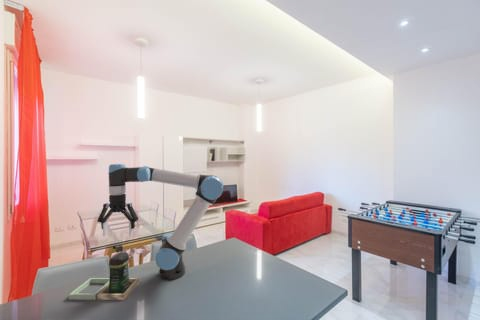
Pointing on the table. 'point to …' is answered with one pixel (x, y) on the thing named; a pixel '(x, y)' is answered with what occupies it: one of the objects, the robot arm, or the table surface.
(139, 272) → the table surface
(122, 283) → the coffee jar
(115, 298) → the birch frame
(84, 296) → the green frame
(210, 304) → the table surface
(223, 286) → the table surface
